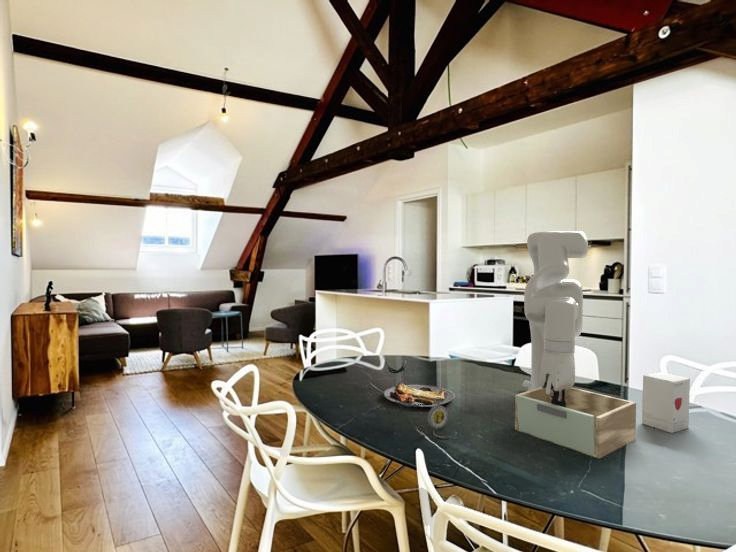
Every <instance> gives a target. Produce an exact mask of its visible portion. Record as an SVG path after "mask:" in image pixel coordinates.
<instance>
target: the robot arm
mask: <svg viewBox="0 0 736 552" xmlns="http://www.w3.org/2000/svg"><path fill="white" fill-rule="evenodd" d="M526 243H527V244H526V245H527V251H528V254H529V256H530V259H531V261H532V265H533V275H532V276H531V277H530V278H529V280H528V281H527V283H526V284H525V288H524V292H523V293H524V294H523V296H524V297H523V298H524V299H523V300H524V306H523V307H524V309H523V310H524V315H525V317H526V319H527V321H528V322H529V329H530V340H531V341H530V343H531V346H530V347H531V349H530V350H531V352H530V353H531V354H530V355H531V359H530V360H531V367H530V370H531V371H530V380H523V381H522V387H525V388H528V389H527V391H530V390H533V389H537V388H540V387H541V388H546V395H549V396H550V399H551V404H554V405H558V406H562V407H565V408H566V399H567V392H568V391H569V390H570V389H571V387H573V386H574V385H575V381H576V363H575V362H576V361H575V354H576V352H575V351H576V350H575V349H576V348H575V346H576V342H575V340H576V338H577V337H579V336H580V335H581V333H582V330H583V310H584V309H583V308H584V305H583V304H584V300H583V299H584V293H583V286H582V284H581V283H580V281H578V280H576V279H566V278H567V277H568V276H569V274H570V267H569V259H583V258H585V257H586V256H587V254H588V251H589V243H588V239H587V236H586V234H585V233H584V232H583V231H577V230H576V231H575V230H574V231H573V230H569V231H568V230H567V231H561V230H560V231H552V230H551V231H537V232H532V233H530V234H529V235H528V236H527V239H526Z"/></svg>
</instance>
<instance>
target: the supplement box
mask: <svg viewBox="0 0 736 552" xmlns="http://www.w3.org/2000/svg"><path fill="white" fill-rule="evenodd" d="M690 385H691V379H690V377H689V378H688V377H685V376H681V375H680V376H679V375H675V374H671V373H666V372H661V371H659V372H654V373H653V372H652V373H649V374H645V375H642V398H641V399H642V402H641V403H642V404H641V411H642V412H641V424H642V425H645V426H649V427H651V428H654V427H655V429H657V430H661V431H663V432H667V433H670V434H673V433H676V432H681V431H683V430H687V429H689V425H690V424H689V419H690V417H689V416H690V387H691V386H690Z"/></svg>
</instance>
